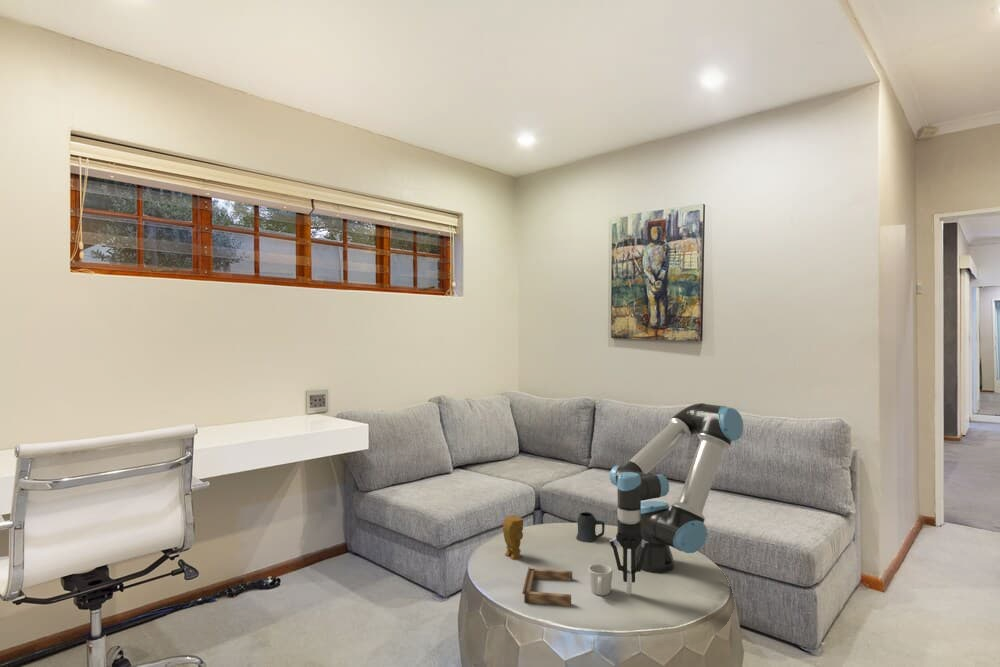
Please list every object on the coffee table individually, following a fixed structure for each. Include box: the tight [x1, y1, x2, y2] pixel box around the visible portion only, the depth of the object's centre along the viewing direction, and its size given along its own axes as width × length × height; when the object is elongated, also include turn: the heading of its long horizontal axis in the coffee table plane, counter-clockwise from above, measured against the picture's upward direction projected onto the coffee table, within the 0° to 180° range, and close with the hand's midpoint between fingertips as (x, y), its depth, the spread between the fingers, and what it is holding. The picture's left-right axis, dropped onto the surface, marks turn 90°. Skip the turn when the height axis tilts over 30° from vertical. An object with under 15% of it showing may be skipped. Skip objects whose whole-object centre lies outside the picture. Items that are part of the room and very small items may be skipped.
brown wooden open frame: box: [522, 566, 573, 607], centre depth 185 cm, size 16×19×4 cm
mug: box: [575, 511, 606, 543], centre depth 229 cm, size 12×9×11 cm
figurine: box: [502, 514, 524, 561], centre depth 213 cm, size 7×7×15 cm
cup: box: [588, 563, 613, 596], centre depth 182 cm, size 11×8×8 cm
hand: (629, 591), depth 181 cm, fingers closed
